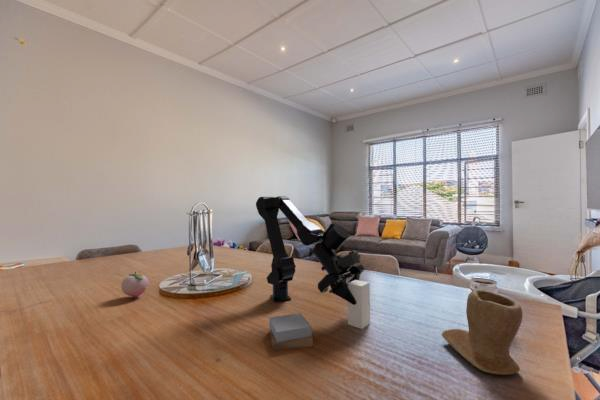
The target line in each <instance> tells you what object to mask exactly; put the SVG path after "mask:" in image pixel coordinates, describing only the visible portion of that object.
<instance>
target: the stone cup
mask: <svg viewBox="0 0 600 400" xmlns="http://www.w3.org/2000/svg"><path fill="white" fill-rule="evenodd" d="M465 313H466V321H467V326H468V330H465V329H460V328H450V329H448V330H444V331H442V332H441V337H442V338H443V339H444V340H445V341H446V343H448V344H449V345H450V346H451V347H452V348H453V349H454V350H455V351H456V352H458V354H459V355H461V356H462V357H463V358H464V359H465V360H466V361H467V362H469V363H471V365H472V366H474V367H475V368H476V369H479V370H480V371H482V372H484V373H488V374H492V375H499V376H502V375H505V376H508V375H514V374H515V373H518V372H520V370H521V369H520V366H519V364H518V363H517V362H516V361H515V360H514V359H513V358H512V356H511V355H510V348H511V346H512V343H513V341H514V340H515V337H516V336H517V334H518V332H519V329H520V327H521V325H522V322H523V309H522V306H521V305H520V304H519V303H518V302H517V301H516V300H514V299H511V298H509V297H507V296H505V295H501V294H499V293H497V294H495V293H493V292H489V291H485V290H473V291H470V292H469V294H468V295H467V300H466V311H465Z"/></svg>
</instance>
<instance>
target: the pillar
mask: <svg viewBox="0 0 600 400" xmlns="http://www.w3.org/2000/svg"><path fill="white" fill-rule="evenodd" d="M348 289H349V290H350V292H351V293H352V295H353V297H354V298H355V300H356V302H357V303H356V304H355V305H353V304H351V303H350V302H348V301H347V313H348V314H347V318H348V319H347V323H348V325H349V326H351V327H355V328H358V329H361V330H363V329H365V328H366V327H367V326H369V325H371V301H370V300H371V299H370V298H371V296H370V295H371V294H370V293H371V292H370V291H371V290H370V281H364V280H360V279H359V280H354V281H352V282H349V283H348Z"/></svg>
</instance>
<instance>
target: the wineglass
mask: <svg viewBox="0 0 600 400" xmlns="http://www.w3.org/2000/svg"><path fill="white" fill-rule="evenodd" d="M497 284H498V282H497V281H496V280H494V279H490V278H483V277H472V278H470V286H469V289H470V292H472V291H473V290H485V291H489V292H493V293H495V294H498V291H499V289H498V287H497Z"/></svg>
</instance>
